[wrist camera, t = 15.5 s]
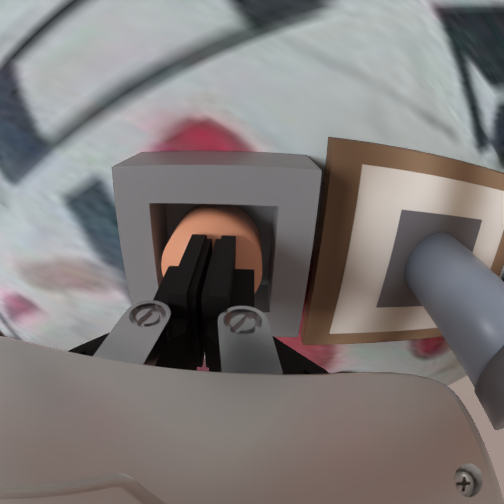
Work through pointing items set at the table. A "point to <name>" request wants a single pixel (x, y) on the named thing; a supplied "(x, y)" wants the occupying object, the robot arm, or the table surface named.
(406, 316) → the picture frame
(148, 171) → the button housing
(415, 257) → the grey capped shaker
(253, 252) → the button
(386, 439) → the robot arm
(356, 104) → the table surface
